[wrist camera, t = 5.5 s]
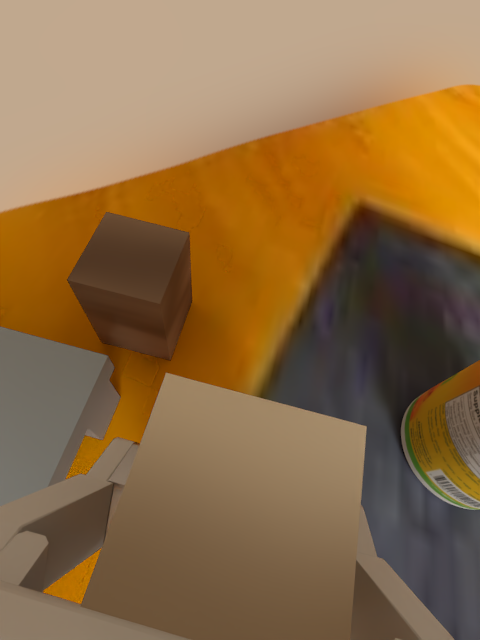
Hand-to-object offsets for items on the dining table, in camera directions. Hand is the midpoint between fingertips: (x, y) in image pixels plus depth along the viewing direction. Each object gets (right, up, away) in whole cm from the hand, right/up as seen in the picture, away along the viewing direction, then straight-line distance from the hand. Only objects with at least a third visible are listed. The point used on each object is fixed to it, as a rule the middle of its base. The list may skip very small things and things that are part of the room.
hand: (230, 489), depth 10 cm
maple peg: (-1, -4, +5) cm, 6 cm away
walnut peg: (-4, +4, +10) cm, 11 cm away
